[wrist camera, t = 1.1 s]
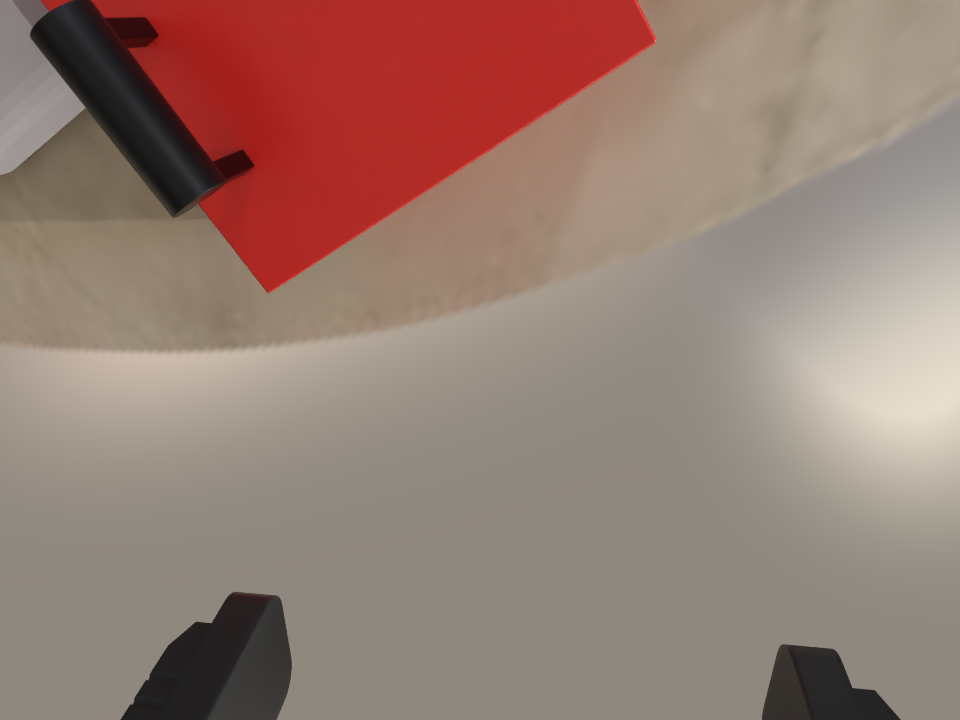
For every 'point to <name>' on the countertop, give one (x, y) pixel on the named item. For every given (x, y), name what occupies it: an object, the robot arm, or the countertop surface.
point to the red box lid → (322, 100)
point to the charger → (28, 87)
